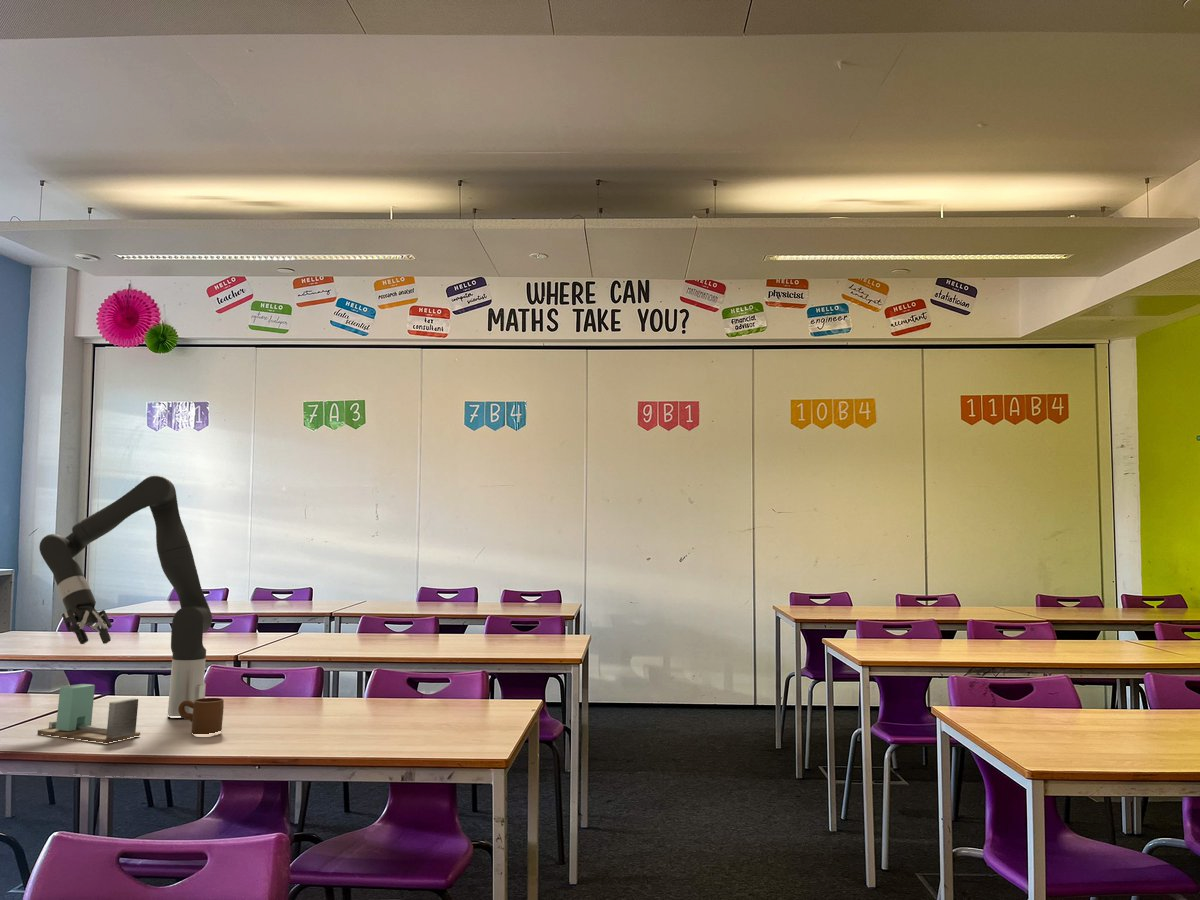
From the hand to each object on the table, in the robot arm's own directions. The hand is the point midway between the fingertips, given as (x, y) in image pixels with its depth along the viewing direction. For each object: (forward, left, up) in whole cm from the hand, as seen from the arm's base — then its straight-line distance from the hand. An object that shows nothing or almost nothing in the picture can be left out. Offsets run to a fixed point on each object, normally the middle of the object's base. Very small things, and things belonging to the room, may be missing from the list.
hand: (96, 642), depth 240 cm
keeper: (-1, +12, -22) cm, 25 cm away
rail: (-6, +15, -22) cm, 27 cm away
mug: (-34, +15, -23) cm, 44 cm away
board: (-6, +15, -23) cm, 28 cm away
